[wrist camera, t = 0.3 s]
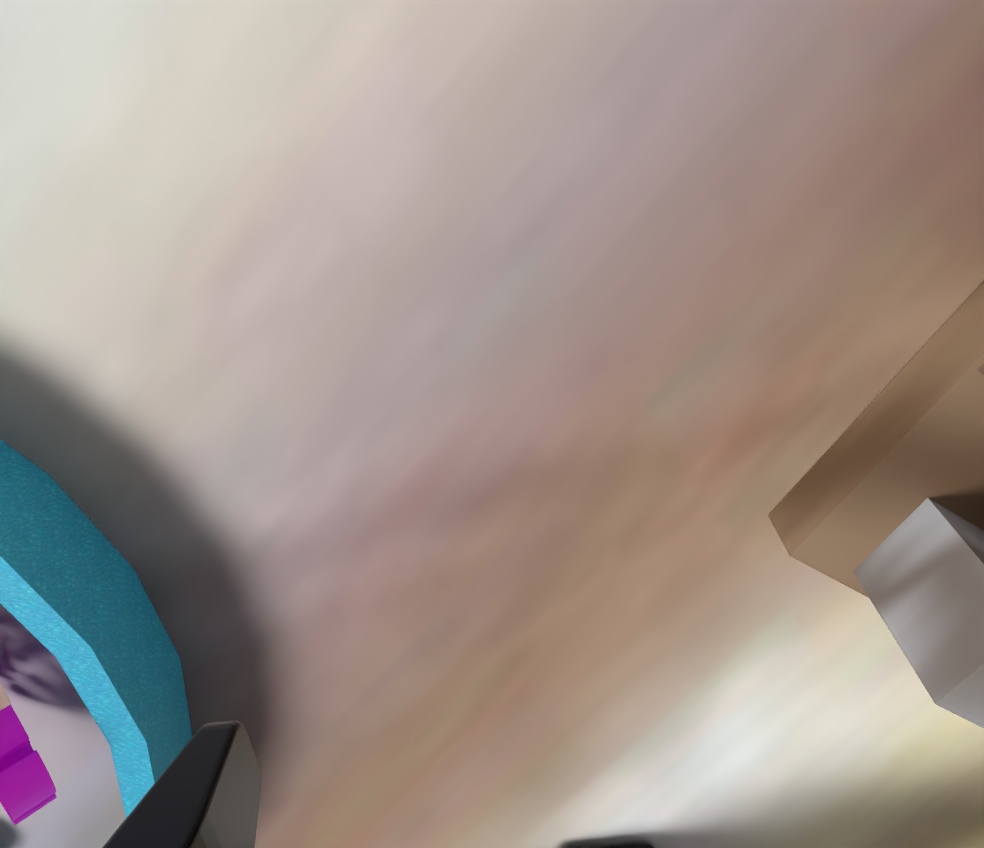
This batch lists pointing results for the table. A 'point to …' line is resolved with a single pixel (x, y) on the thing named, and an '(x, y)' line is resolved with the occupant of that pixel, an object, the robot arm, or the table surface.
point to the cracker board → (911, 511)
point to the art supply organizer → (84, 639)
